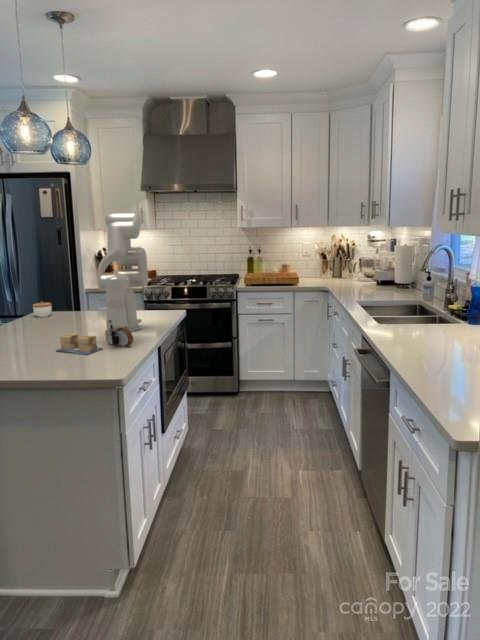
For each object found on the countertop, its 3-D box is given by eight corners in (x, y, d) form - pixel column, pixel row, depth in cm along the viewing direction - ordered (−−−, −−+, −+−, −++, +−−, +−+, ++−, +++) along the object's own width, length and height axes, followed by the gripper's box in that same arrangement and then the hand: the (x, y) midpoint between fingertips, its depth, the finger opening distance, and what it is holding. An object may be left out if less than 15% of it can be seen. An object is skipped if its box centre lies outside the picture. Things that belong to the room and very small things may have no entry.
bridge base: (71, 346, 230) (70, 332, 228) (102, 349, 222) (101, 334, 221) (55, 351, 221) (54, 337, 219) (87, 355, 214) (86, 340, 212)
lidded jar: (34, 315, 306) (33, 300, 304) (53, 314, 309) (51, 299, 307) (33, 318, 296) (31, 303, 294) (52, 317, 299) (50, 301, 297)
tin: (134, 346, 226) (132, 328, 224) (129, 348, 223) (127, 329, 222) (109, 343, 234) (108, 325, 232) (105, 344, 231) (103, 326, 229)
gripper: (120, 300, 233) (123, 338, 237) (97, 306, 218) (100, 346, 222) (133, 301, 230) (136, 339, 234) (110, 307, 215) (114, 348, 219)
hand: (119, 342), depth 228 cm, fingers open, 4 cm apart
